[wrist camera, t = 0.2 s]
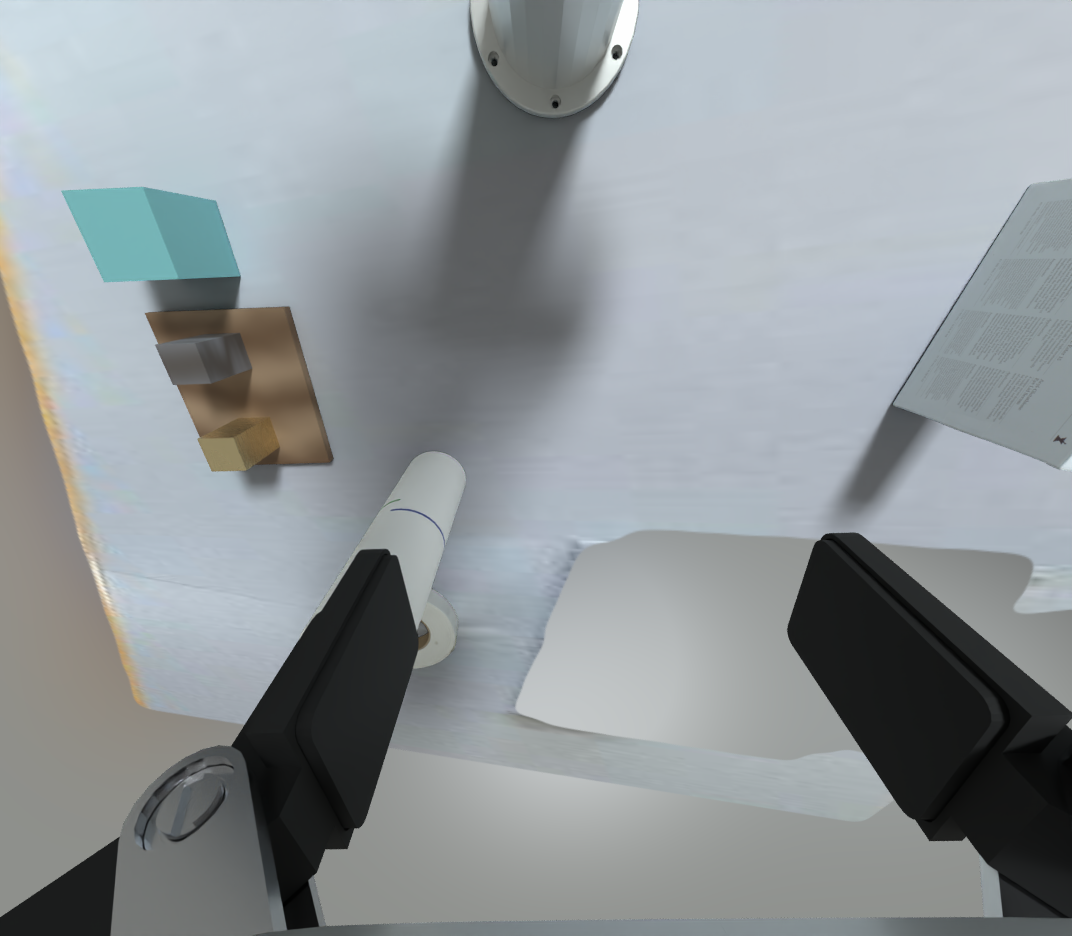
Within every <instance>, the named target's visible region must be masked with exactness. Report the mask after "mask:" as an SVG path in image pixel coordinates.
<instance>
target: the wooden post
mask: <svg viewBox="0 0 1072 936" xmlns="http://www.w3.org/2000/svg"><path fill="white" fill-rule="evenodd" d="M198 442H199V444H200V446H201V448H202V450H203V453H204V455H205V457H206V459H207V462H208V464H209V466H210V468H211V471H245V470H248V469H249V468H251V467H252V466H253V465H255V464H256V463H258V462H259V461H261V460H262V459H263V458H265V457H266V456H268V455H269V454H270V453H272V452H273V451H275V450H276V449H277V448H279V447H280V445H279V442H278V439H277V437H276V434H275V431H274V428H273V425H272V422H271V420H270V417H256V418H237V419H235V420H233V421H231V422H229V423H227V424H225V425H224V426H222V427H220V428H218V429H216V430H214V431H212V432H210V433H208V434H206V435H204V436H202V437H200V438H198Z"/></svg>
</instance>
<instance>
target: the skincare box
mask: <svg viewBox="0 0 1072 936" xmlns="http://www.w3.org/2000/svg"><path fill="white" fill-rule="evenodd" d="M893 405H894V406H895V407H898V408H901V409H904V410H907V411H910V412H912V413H915V414H918V415H921V416H923V417H926V418H929V419H931V420H934V421H936V422H939V423H941V424H943V425H946V426H948V427H951V428H953V429H956V430H959V431H961V432H964V433H967V434H969V435H972V436H975V437H978V438H981V439H984V440H987V441H989V442H992V443H995V444H998V445H1000V446H1003V447H1006V448H1008V449H1011V450H1014V451H1016V452H1019V453H1022V454H1024V455H1027V456H1029V457H1032V458H1035V459H1037V460H1040V461H1042V462H1045V463H1046V464H1048V465H1050V466H1052V467H1054V468H1056V469H1059V470H1065V471H1070V472H1072V178H1069V179H1062V180H1056V181H1049V182H1040V183H1034V184H1031V185H1030V186H1029V188H1028V189H1027V191H1026V193H1025V194H1024V196H1023V197H1022V199H1021V201H1020V202H1019V204H1018V205H1017V207H1016V208H1015V210H1014V212H1013V213H1012V215H1011V216H1010V218H1009V220H1008V221H1007V223H1006V224H1005V226H1004V228H1003V229H1002V231H1001V232H1000V234H999V236H998V237H997V239H996V240H995V242H994V243H993V245H992V247H991V248H990V250H989V251H988V253H987V255H986V256H985V258H984V259H983V261H982V263H981V264H980V266H979V267H978V269H977V271H976V272H975V274H974V275H973V277H972V278H971V280H970V282H969V283H968V285H967V286H966V288H965V290H964V291H963V293H962V294H961V296H960V298H959V299H958V301H957V302H956V304H955V306H954V307H953V309H952V310H951V312H950V314H949V315H948V317H947V318H946V320H945V322H944V323H943V325H942V326H941V328H940V330H939V331H938V333H937V334H936V336H935V338H934V339H933V341H932V342H931V344H930V346H929V347H928V349H927V350H926V352H925V354H924V355H923V357H922V358H921V360H920V362H919V363H918V365H917V366H916V368H915V370H914V371H913V373H912V374H911V376H910V377H909V379H908V381H907V382H906V384H905V385H904V387H903V389H902V390H901V392H900V393H899V395H898V397H897V398H896V400H895V401H894V403H893Z"/></svg>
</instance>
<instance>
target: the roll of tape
mask: <svg viewBox="0 0 1072 936" xmlns="http://www.w3.org/2000/svg"><path fill="white" fill-rule="evenodd" d="M421 622H422V623H423V624H424V625H425V626H426V628H427V630H428V633H427V634H425V635H424V636H421V637H418V639H419V647H418V653H417V656H416V660H415V663H414V666H413V669H418V668H424V667H428V666H432V665H434V664H437V663H438V662H440V661H442V660H443V659H444V658H446V657H447V656H448V655H449V654H450V653H451V652H452V651H453V650H454V648H455V645H456V638H457V635H456V634H457V630H458V618H457V614H456V612H455V610H454V608H453V607H452V605H451V604H450V603H449V601H448V600H447V599H446V598H445V597H443V596H442V595H441V594H439V593H438V592H437V591H435V590H433V589H431V591H430V594H429V597H428V600H427V603H426V606H425V609H424V612H423V615H422V618H421Z"/></svg>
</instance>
